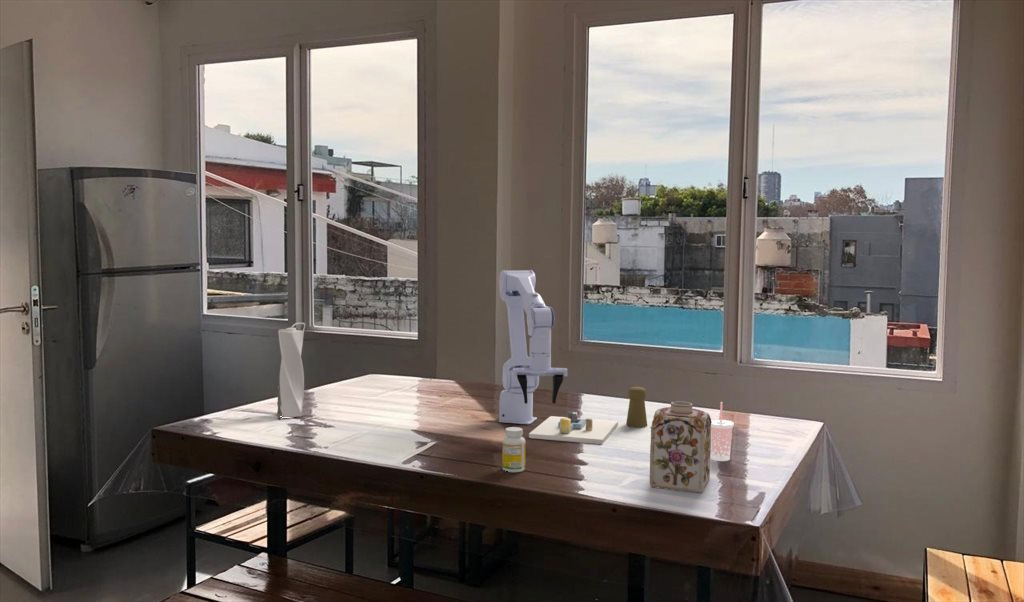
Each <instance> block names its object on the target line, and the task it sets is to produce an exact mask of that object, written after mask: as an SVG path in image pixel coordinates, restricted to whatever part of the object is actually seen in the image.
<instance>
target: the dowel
mask: <svg viewBox="0 0 1024 602" xmlns="http://www.w3.org/2000/svg"><path fill="white" fill-rule="evenodd" d="M585 419H586V431H592V421H593V418H585Z"/></svg>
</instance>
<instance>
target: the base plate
mask: <svg viewBox="0 0 1024 602" xmlns="http://www.w3.org/2000/svg"><path fill="white" fill-rule="evenodd" d="M561 418H567V417H566V416H554V415H550V416H549V417H548V418H546V419H545V420H544V421H543V422H541V423H540V424H539V425H538V426H537V427H535V428H534V429H532V430H531V431H530V432H529V433H528V439H534V440H535V439H536V440H537V439H538V440H548V441H549V440H550V441H560V442H571V443H572V442H573V443H581V444H582V443H585V444H597V445H604V443H605V442H606V441H607V440H608V438H609V437H610V436H611V435H612V433H613V432H614V431H615V430H616V428H617V427H618V426H619V420H609V419H608V420H607V419H593V418H592V419H593V421H592V431H586V424H585V425H584V426H583V427H582V428H581V429H580V428H573V429H572V430H571V432H570V433H561V432H560V427H558V422H559V421H560V419H561ZM577 419H583V418H581V417H578V418H577Z"/></svg>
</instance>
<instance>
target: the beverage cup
mask: <svg viewBox="0 0 1024 602" xmlns="http://www.w3.org/2000/svg"><path fill="white" fill-rule="evenodd" d="M719 405H720V406H719V409H720V412H719V416H720V417H719V419H711V421H712V423H711V455H710V460H713V461H718V462H728V461H730V459H731V449H732V447H731V446H732V435H733V428H734V425H735V424H734V422H733V421H731V420H728V419H727V420H726V419H723V401H720V404H719Z"/></svg>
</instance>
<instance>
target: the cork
mask: <svg viewBox="0 0 1024 602" xmlns="http://www.w3.org/2000/svg"><path fill="white" fill-rule="evenodd" d="M627 396H628V397H629V403H628V409H627V415H626V424H625V425H626V426H627V427H629V428H636V429H637V428H638V429H640V428H643V429H644V428H646V427H648V420H647V411H646V402H645V398H646V397H647V390H646V388H644V387H642V386H632V387H631V386H630V388H629V389H628V390H627Z"/></svg>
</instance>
